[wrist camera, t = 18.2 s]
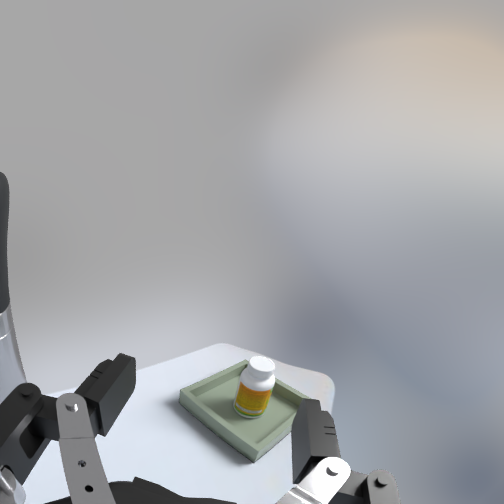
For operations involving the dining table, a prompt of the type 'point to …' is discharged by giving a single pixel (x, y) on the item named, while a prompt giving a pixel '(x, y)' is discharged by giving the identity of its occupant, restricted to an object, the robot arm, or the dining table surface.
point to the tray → (234, 425)
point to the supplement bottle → (255, 387)
